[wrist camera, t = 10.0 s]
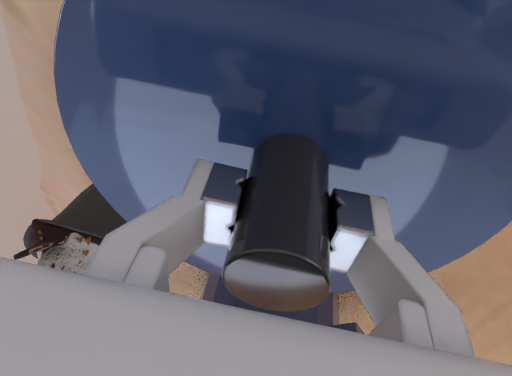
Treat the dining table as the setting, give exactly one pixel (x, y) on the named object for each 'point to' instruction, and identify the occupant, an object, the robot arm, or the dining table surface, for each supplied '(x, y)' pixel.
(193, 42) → the lid
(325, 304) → the pot
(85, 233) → the sundae
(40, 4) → the dining table surface
